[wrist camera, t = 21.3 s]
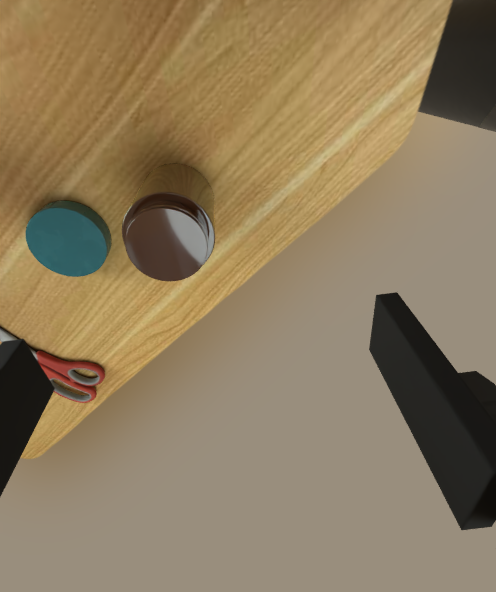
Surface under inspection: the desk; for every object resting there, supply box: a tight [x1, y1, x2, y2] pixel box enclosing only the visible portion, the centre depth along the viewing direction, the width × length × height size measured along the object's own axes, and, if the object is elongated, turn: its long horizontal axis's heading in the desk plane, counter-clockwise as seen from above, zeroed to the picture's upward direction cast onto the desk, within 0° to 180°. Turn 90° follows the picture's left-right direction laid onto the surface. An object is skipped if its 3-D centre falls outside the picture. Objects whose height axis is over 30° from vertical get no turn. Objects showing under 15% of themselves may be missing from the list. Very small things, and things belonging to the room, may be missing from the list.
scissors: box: [0, 328, 105, 403], centre depth 46 cm, size 8×21×2 cm, turn 48°
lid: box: [26, 201, 111, 277], centre depth 36 cm, size 8×8×2 cm
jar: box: [122, 163, 215, 281], centre depth 32 cm, size 8×8×11 cm
